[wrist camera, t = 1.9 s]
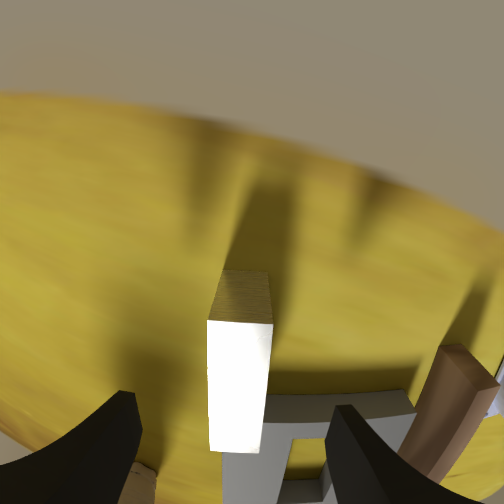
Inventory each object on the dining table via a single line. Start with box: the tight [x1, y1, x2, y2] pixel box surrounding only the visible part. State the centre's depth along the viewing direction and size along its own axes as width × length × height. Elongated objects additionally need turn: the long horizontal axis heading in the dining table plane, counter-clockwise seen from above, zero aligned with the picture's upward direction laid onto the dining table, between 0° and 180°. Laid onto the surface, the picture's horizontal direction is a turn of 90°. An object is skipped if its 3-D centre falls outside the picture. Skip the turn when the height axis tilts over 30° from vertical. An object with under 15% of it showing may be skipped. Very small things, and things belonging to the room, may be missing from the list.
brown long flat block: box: [397, 344, 501, 484], centre depth 17 cm, size 2×18×5 cm, turn 177°
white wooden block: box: [208, 269, 273, 453], centre depth 14 cm, size 2×7×6 cm, turn 177°
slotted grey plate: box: [222, 389, 417, 504], centre depth 18 cm, size 12×11×2 cm
